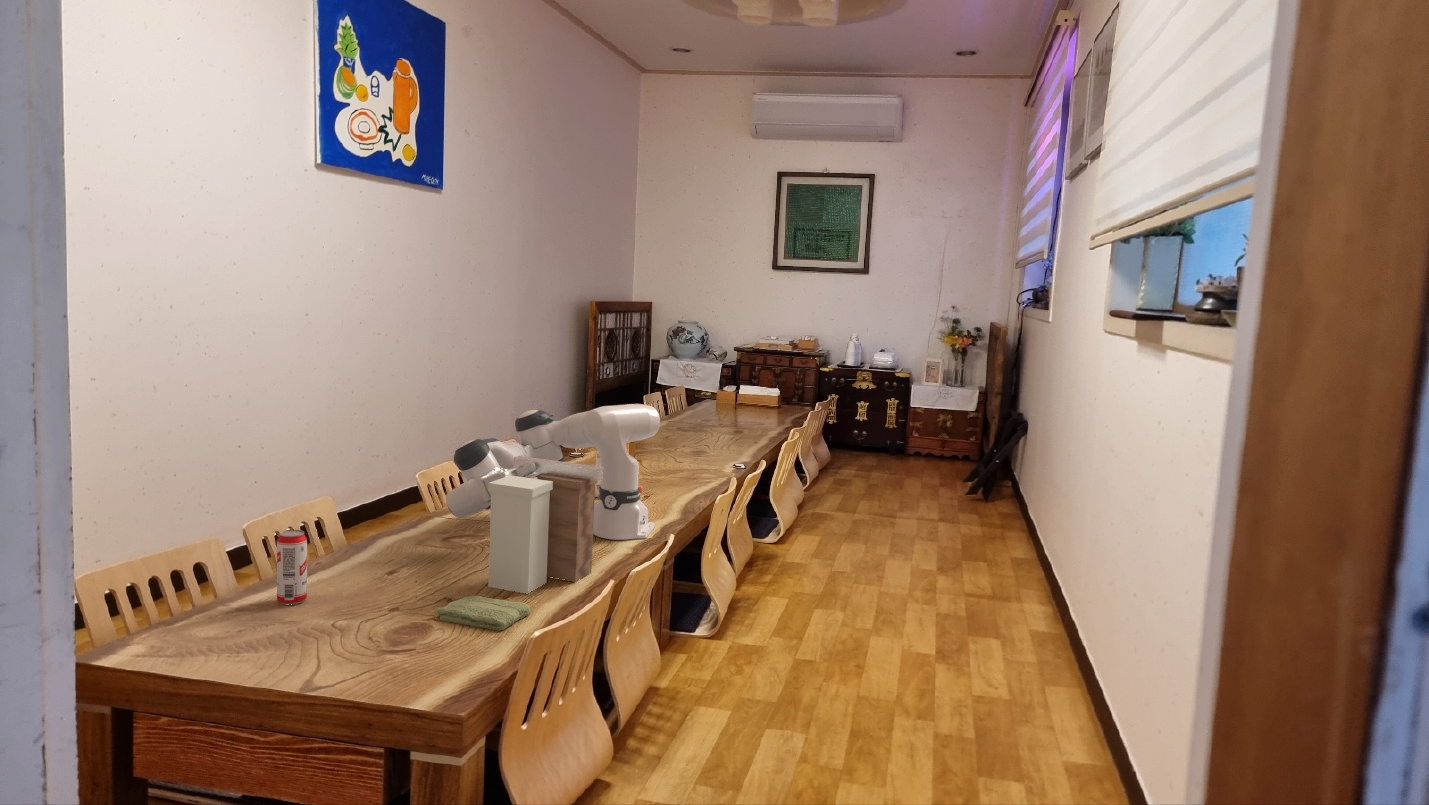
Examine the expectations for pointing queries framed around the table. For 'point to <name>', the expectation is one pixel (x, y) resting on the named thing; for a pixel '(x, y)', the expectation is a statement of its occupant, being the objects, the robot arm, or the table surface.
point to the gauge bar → (561, 468)
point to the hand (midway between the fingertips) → (539, 464)
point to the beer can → (291, 567)
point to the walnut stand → (570, 527)
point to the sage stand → (518, 533)
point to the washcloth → (484, 612)
